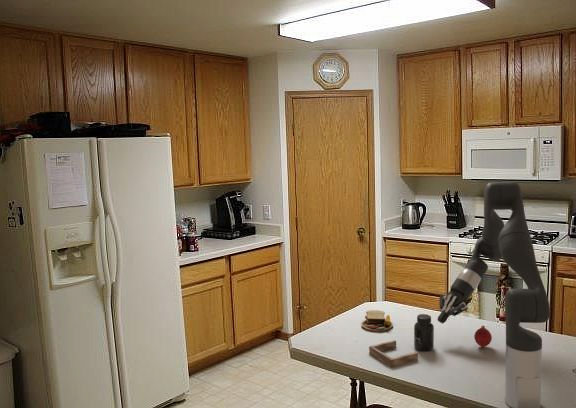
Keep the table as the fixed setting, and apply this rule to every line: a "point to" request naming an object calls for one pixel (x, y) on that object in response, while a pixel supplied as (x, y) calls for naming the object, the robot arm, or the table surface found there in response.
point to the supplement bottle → (424, 333)
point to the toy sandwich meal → (376, 321)
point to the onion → (483, 337)
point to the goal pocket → (392, 362)
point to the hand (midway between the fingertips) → (440, 321)
